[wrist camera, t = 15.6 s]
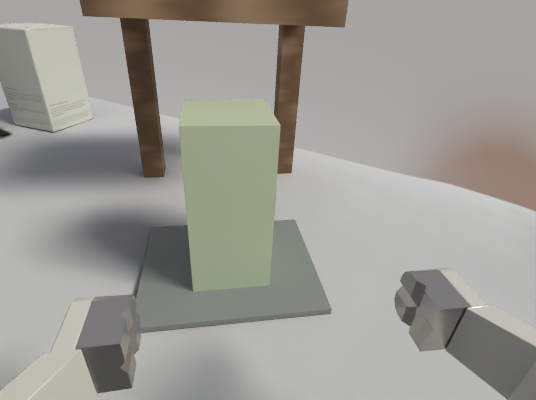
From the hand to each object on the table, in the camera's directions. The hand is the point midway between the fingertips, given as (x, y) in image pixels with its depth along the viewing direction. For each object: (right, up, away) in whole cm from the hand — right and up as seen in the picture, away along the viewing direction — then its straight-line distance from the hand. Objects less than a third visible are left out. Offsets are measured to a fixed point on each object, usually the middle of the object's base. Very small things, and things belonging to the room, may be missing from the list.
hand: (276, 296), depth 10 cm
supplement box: (-31, +14, +40) cm, 52 cm away
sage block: (-3, -2, +14) cm, 15 cm away
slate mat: (-3, -2, +14) cm, 15 cm away
